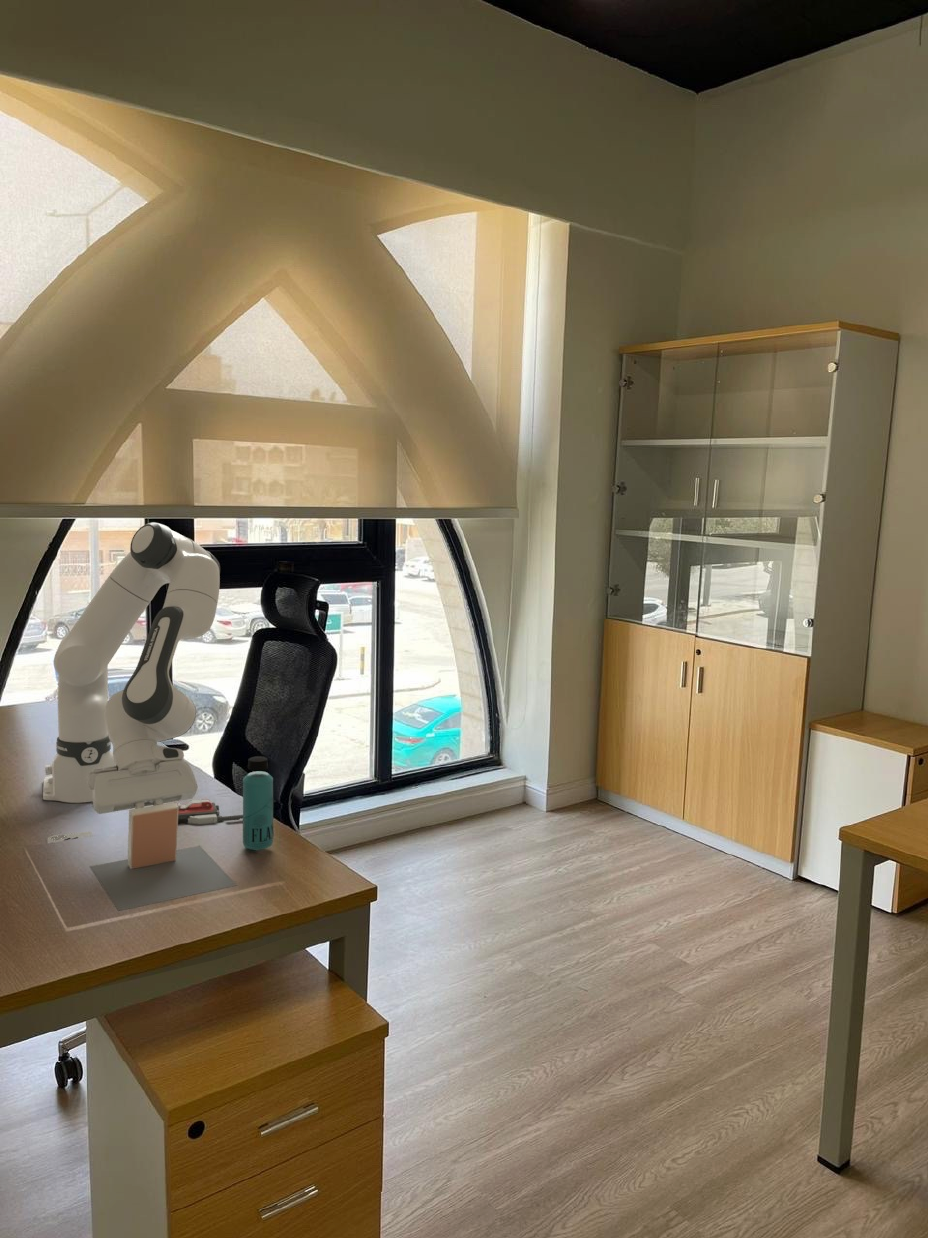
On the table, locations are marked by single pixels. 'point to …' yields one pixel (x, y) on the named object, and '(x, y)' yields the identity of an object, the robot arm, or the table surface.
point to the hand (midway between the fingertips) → (153, 823)
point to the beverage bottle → (258, 805)
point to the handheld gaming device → (68, 836)
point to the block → (152, 835)
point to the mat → (161, 879)
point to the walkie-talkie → (202, 813)
